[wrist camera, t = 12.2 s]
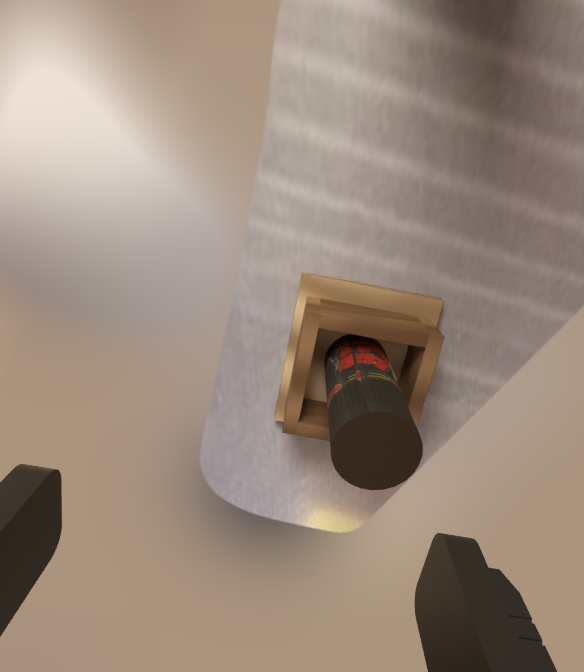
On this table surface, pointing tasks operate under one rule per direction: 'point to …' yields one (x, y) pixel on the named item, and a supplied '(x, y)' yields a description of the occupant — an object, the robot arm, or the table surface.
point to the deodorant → (368, 416)
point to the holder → (359, 319)
